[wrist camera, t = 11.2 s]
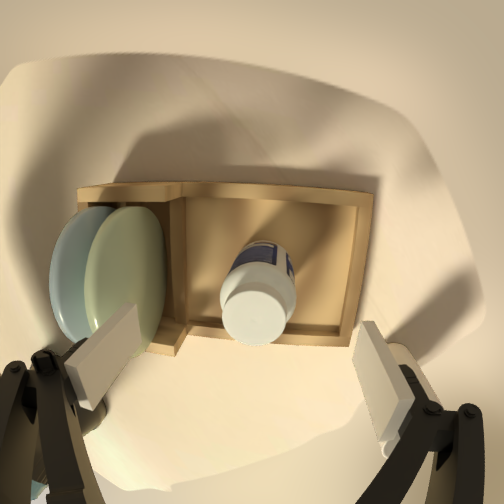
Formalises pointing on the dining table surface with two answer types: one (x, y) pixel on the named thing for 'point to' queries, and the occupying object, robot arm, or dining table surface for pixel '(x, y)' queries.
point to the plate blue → (74, 271)
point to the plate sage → (127, 270)
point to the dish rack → (240, 235)
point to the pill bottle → (258, 294)
